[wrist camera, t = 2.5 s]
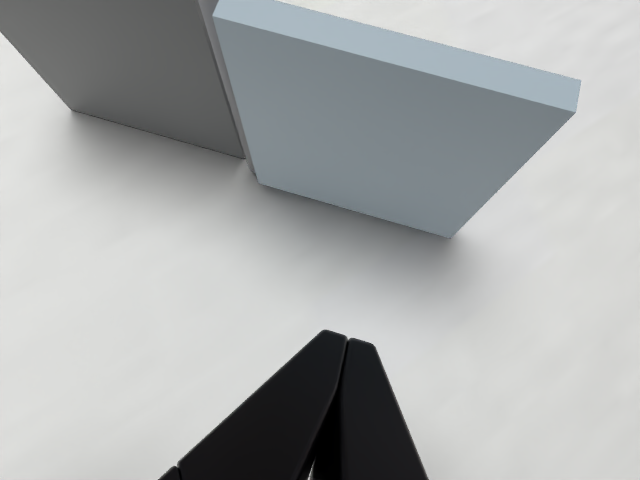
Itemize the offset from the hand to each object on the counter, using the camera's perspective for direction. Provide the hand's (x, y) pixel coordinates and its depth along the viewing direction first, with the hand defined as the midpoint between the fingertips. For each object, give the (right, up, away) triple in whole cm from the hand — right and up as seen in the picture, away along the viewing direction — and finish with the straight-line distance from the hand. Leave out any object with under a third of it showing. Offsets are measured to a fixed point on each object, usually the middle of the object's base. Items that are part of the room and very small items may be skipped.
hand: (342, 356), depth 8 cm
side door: (+1, +4, +12) cm, 12 cm away
